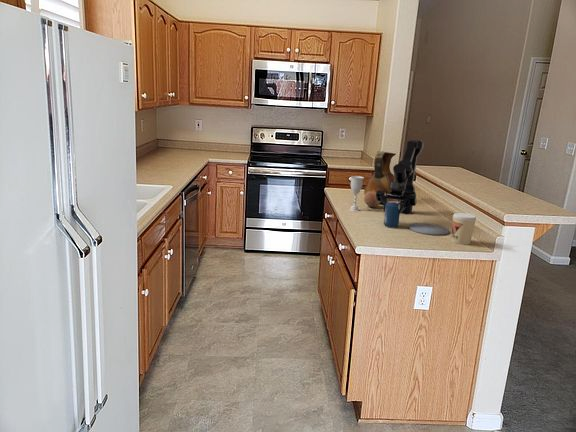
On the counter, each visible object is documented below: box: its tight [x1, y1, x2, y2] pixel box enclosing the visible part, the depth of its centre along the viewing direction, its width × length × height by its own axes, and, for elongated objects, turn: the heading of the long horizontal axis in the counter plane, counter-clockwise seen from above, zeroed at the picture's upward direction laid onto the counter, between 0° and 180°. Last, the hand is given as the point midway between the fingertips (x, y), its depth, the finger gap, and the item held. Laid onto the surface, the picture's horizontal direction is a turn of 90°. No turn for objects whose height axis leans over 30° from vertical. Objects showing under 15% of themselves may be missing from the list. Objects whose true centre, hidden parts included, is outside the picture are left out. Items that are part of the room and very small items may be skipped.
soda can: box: [383, 200, 401, 229], centre depth 219 cm, size 7×7×12 cm
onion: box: [363, 190, 382, 208], centre depth 257 cm, size 10×9×10 cm
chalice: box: [349, 175, 365, 212], centre depth 248 cm, size 7×7×18 cm
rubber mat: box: [408, 222, 450, 236], centre depth 217 cm, size 18×18×1 cm
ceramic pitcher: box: [363, 151, 397, 201], centre depth 271 cm, size 20×20×30 cm
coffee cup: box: [451, 212, 477, 246], centre depth 199 cm, size 9×9×12 cm
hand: (391, 212), depth 217 cm, fingers closed on soda can, 7 cm apart
